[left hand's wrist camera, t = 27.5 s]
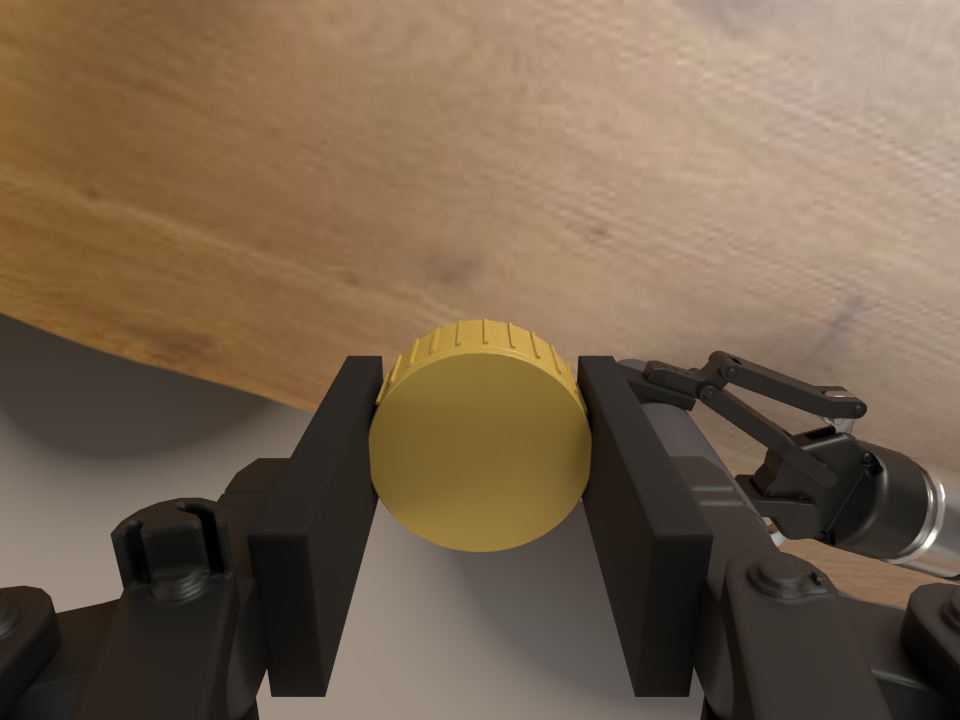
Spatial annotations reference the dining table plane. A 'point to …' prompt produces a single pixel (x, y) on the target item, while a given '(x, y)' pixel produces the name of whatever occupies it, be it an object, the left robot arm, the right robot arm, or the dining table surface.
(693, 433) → the bottle
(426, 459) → the cap
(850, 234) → the dining table surface
